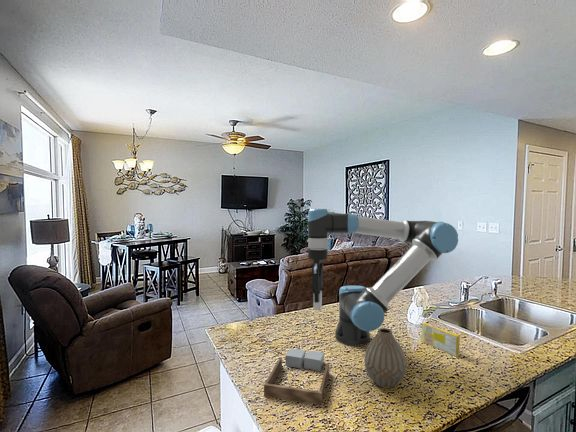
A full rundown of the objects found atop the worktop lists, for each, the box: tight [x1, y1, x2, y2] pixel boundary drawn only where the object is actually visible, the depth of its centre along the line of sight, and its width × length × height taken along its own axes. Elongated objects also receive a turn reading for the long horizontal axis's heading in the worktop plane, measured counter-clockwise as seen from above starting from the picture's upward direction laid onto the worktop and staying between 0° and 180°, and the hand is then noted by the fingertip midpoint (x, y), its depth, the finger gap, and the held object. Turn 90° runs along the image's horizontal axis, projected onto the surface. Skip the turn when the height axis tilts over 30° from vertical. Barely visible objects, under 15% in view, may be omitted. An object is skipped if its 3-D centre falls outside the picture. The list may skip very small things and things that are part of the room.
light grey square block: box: [303, 349, 325, 372], centre depth 113 cm, size 6×6×4 cm
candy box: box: [421, 322, 461, 358], centre depth 127 cm, size 16×2×8 cm, turn 28°
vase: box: [363, 327, 407, 389], centre depth 102 cm, size 13×13×18 cm
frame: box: [263, 356, 330, 406], centre depth 102 cm, size 18×18×4 cm
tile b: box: [284, 348, 306, 369], centre depth 115 cm, size 6×6×4 cm
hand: (317, 308), depth 121 cm, fingers open, 3 cm apart
